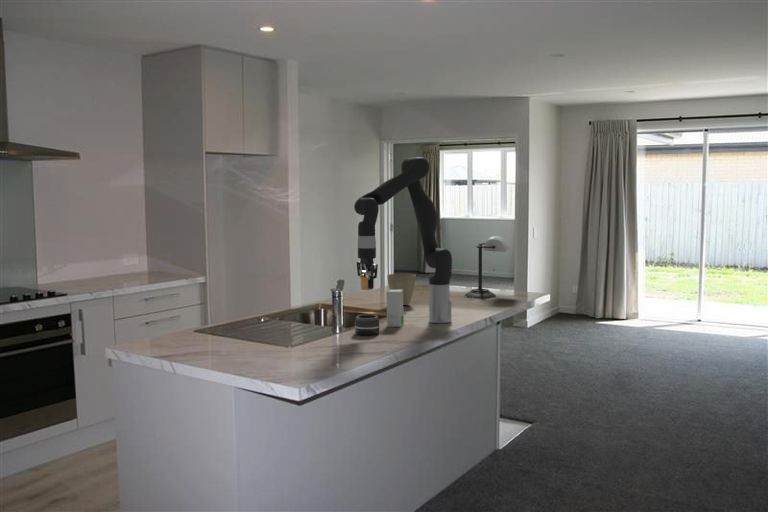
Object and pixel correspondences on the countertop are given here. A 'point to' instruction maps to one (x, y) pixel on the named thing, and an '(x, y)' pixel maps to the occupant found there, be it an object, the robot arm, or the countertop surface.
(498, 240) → the lamp
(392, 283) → the plant pot
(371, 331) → the barrel
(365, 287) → the wooden block
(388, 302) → the skincare box
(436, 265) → the robot arm
